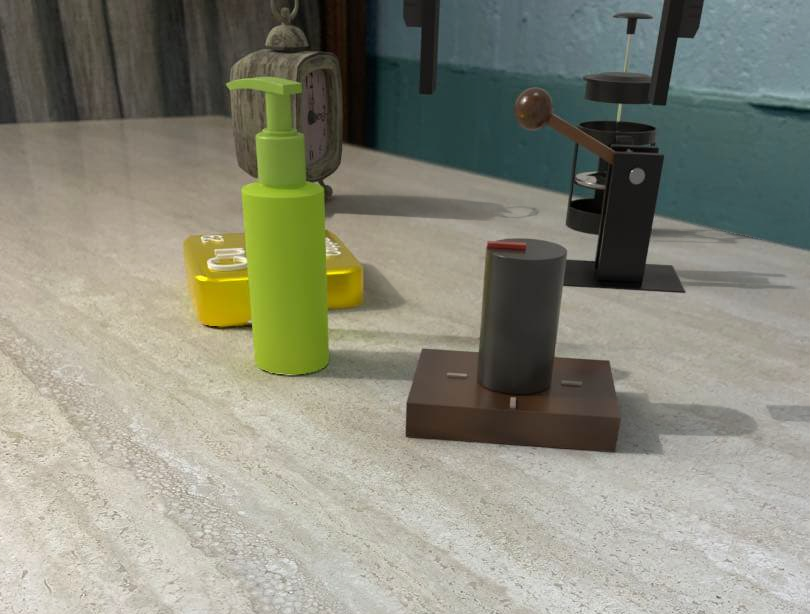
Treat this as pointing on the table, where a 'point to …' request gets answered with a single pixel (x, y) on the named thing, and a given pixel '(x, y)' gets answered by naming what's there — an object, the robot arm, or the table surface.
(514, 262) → the knob
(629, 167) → the bracket
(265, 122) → the tabletop clock
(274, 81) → the soap dispenser
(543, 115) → the lever
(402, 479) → the table surface
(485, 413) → the panel
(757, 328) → the table surface
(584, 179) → the french press
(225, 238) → the element tile
